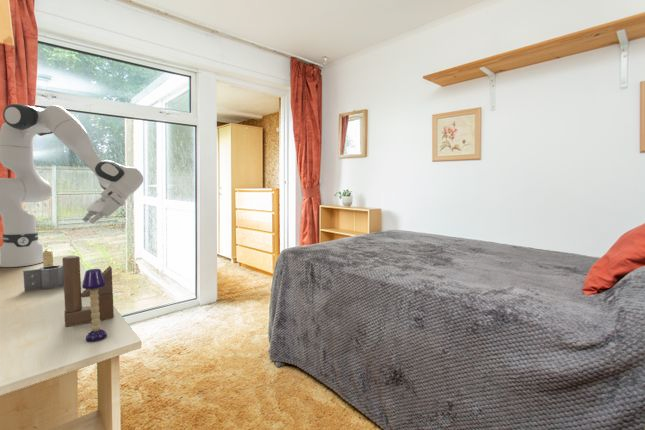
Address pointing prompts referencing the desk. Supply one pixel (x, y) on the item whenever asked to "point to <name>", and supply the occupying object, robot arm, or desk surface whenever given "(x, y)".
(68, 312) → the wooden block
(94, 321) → the toy lamp
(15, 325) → the desk surface
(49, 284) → the octagonal sleeve with tab
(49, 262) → the brass pin
